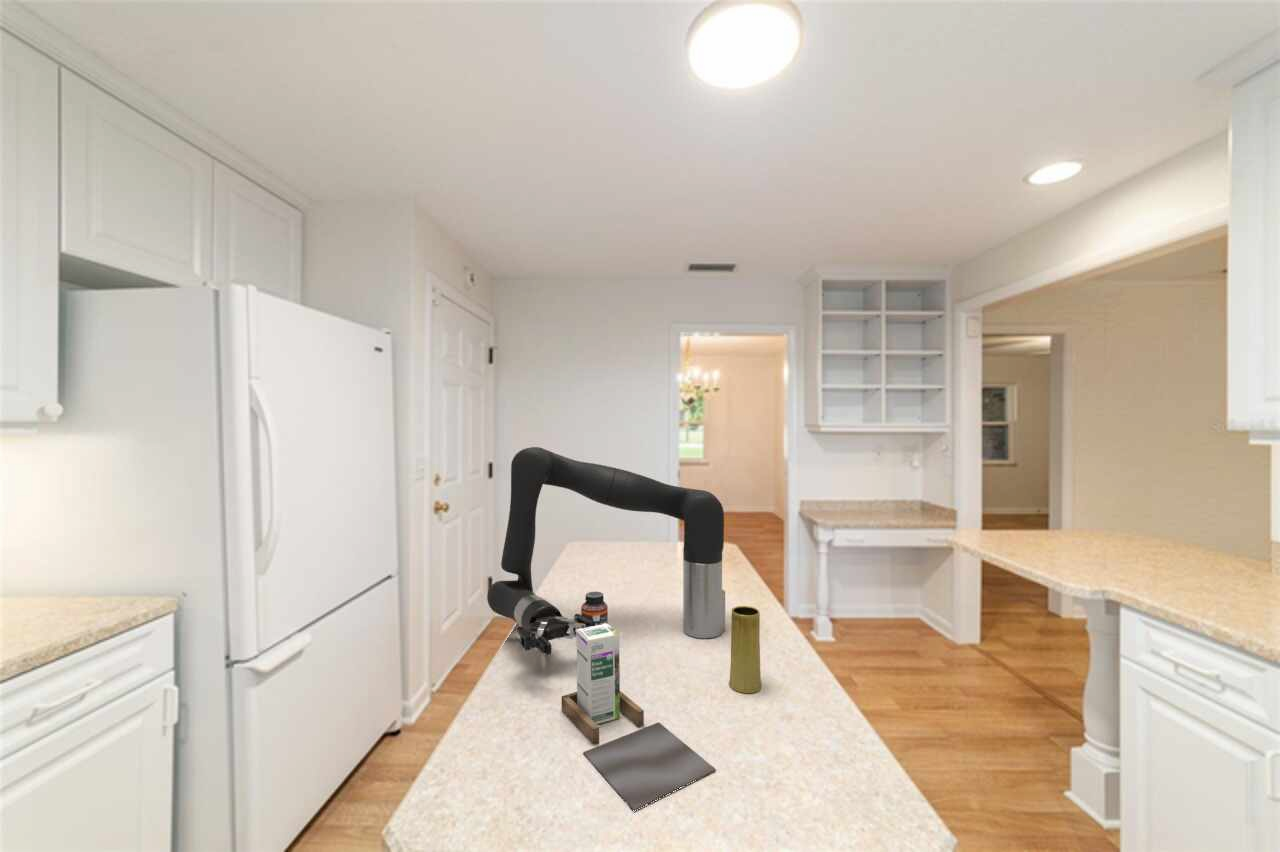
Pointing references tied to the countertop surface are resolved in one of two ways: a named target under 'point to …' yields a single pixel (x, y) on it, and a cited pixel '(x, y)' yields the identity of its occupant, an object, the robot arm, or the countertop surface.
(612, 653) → the syrup box
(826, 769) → the countertop surface
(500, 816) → the countertop surface
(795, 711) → the countertop surface
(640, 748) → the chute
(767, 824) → the countertop surface
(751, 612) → the vase
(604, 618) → the supplement bottle
